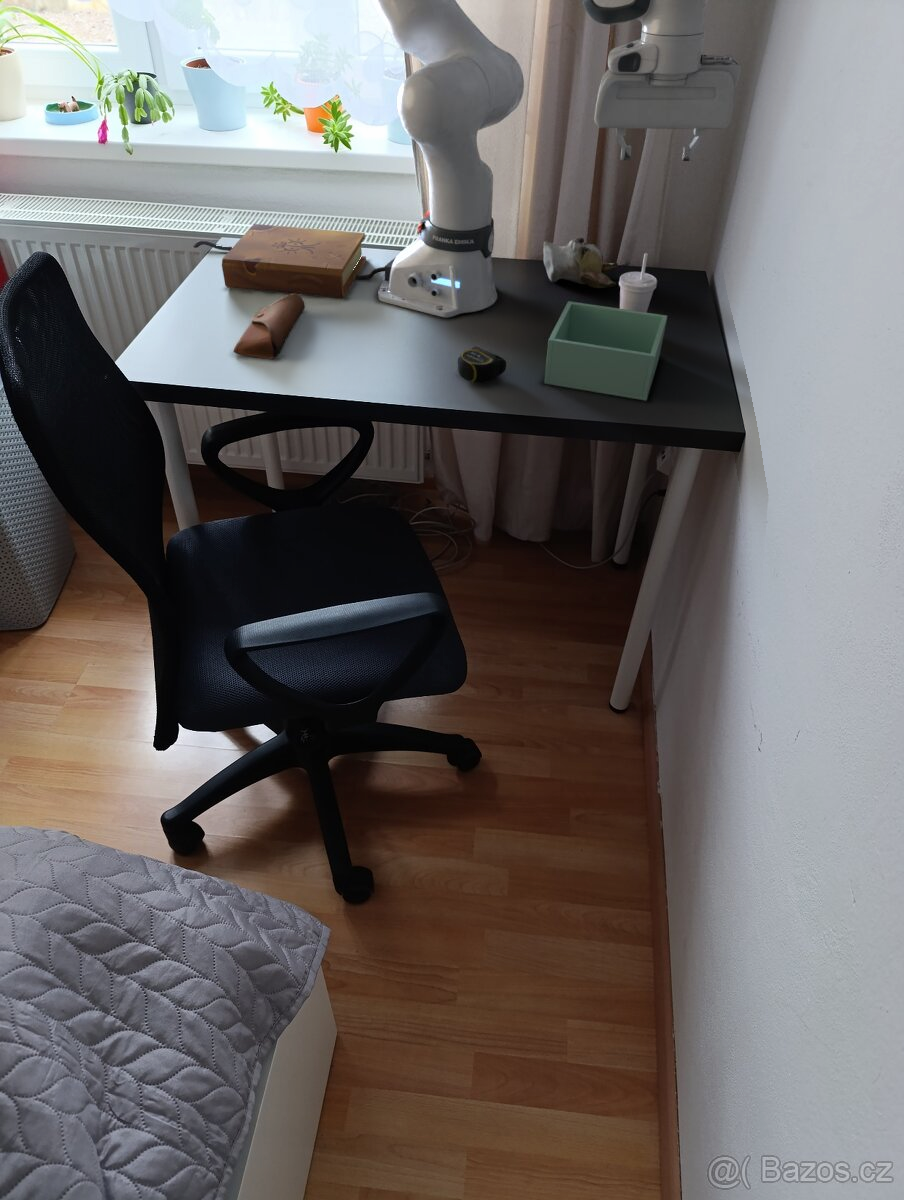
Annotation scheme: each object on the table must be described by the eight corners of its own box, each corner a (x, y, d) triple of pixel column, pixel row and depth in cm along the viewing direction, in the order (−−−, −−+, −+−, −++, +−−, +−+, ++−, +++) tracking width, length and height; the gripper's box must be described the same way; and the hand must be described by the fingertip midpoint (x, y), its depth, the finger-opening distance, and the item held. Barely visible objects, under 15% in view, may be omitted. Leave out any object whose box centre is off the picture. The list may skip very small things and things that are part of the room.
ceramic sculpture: (547, 222, 162) (624, 233, 160) (541, 266, 168) (615, 276, 167) (542, 244, 154) (623, 255, 153) (536, 289, 160) (613, 300, 159)
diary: (226, 290, 159) (220, 260, 155) (257, 252, 172) (253, 223, 168) (343, 300, 156) (340, 269, 152) (366, 260, 170) (364, 231, 166)
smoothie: (646, 342, 145) (661, 262, 136) (610, 338, 146) (622, 259, 136) (648, 326, 150) (662, 247, 140) (612, 322, 151) (624, 244, 141)
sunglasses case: (260, 306, 153) (274, 276, 149) (295, 327, 155) (309, 298, 151) (230, 353, 140) (245, 322, 136) (269, 375, 142) (284, 345, 138)
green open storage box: (544, 383, 135) (548, 339, 130) (563, 343, 145) (568, 301, 140) (646, 400, 131) (655, 356, 126) (659, 358, 141) (667, 315, 136)
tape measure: (507, 377, 136) (509, 356, 134) (479, 392, 133) (480, 370, 130) (477, 362, 140) (477, 341, 137) (448, 377, 136) (448, 355, 134)
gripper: (741, 50, 121) (722, 154, 131) (599, 50, 123) (590, 153, 133) (747, 59, 117) (727, 166, 126) (599, 59, 119) (590, 164, 128)
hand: (656, 159), depth 129 cm, fingers open, 8 cm apart
